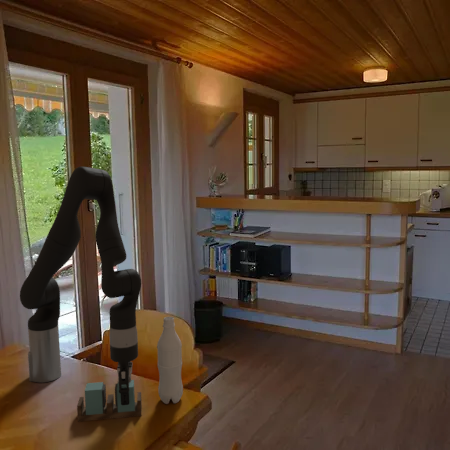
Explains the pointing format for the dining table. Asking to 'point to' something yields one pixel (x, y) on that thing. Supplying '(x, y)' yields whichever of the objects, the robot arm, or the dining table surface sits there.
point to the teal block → (131, 398)
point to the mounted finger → (95, 398)
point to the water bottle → (169, 363)
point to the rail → (108, 410)
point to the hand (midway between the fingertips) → (126, 397)
